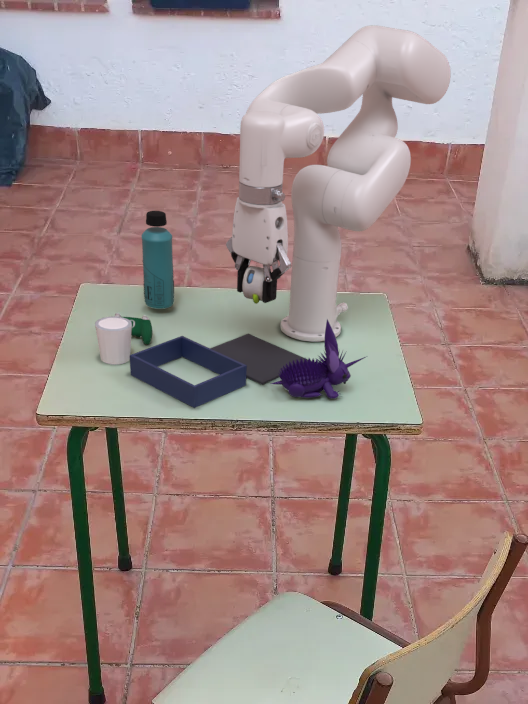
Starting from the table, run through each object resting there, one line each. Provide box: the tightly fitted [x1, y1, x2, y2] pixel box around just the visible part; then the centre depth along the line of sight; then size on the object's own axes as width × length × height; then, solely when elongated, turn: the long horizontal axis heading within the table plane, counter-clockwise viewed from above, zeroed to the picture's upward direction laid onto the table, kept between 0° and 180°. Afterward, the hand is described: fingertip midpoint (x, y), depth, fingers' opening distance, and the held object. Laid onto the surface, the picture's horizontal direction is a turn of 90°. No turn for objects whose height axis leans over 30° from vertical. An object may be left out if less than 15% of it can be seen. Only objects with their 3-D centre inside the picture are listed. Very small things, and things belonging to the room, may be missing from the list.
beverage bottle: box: [141, 210, 176, 310], centre depth 184 cm, size 6×7×20 cm
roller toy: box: [242, 265, 266, 304], centre depth 165 cm, size 4×6×6 cm
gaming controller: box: [114, 312, 153, 346], centre depth 178 cm, size 9×4×6 cm
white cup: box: [94, 315, 132, 365], centre depth 169 cm, size 7×7×7 cm
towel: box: [209, 333, 309, 386], centre depth 174 cm, size 14×17×1 cm
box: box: [129, 335, 247, 409], centre depth 165 cm, size 13×17×4 cm
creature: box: [270, 319, 368, 400], centre depth 161 cm, size 9×18×12 cm, turn 96°
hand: (256, 294), depth 166 cm, fingers closed on roller toy, 5 cm apart
